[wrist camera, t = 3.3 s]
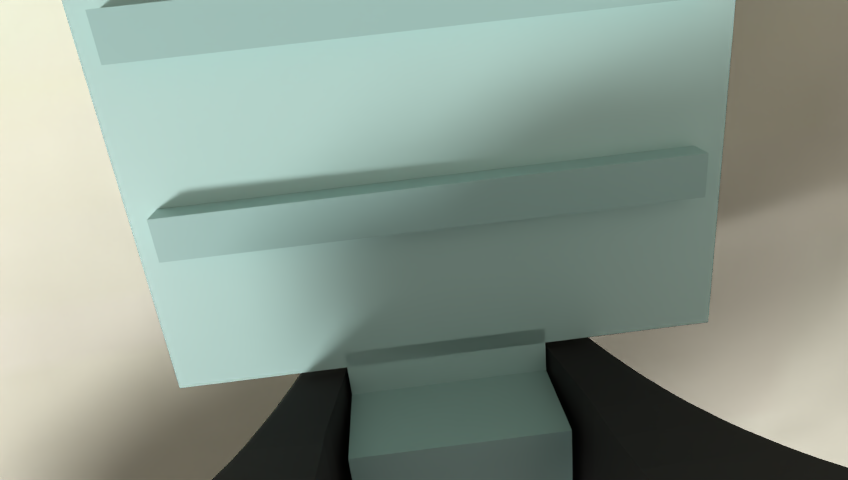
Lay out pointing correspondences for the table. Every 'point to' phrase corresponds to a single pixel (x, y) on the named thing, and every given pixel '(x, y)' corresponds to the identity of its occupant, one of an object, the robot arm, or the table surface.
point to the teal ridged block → (415, 198)
